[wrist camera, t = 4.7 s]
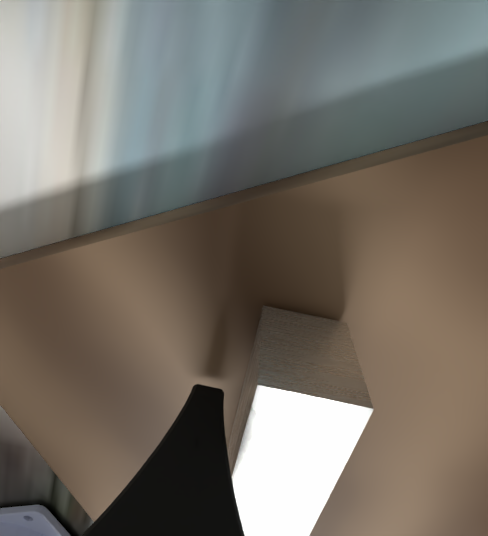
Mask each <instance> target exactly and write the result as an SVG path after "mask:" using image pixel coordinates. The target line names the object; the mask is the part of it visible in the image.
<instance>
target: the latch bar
mask: <svg viewBox="0 0 488 536" xmlns="http://www.w3.org/2000/svg"><path fill="white" fill-rule="evenodd" d="M373 410H374V408H373V405H372V402H371V398H370V395H369V392H368V389H367V386H366V382H365V379H364V376H363V373H362V370H361V367H360V363H359V360H358V357H357V354H356V351H355V347H354V344H353V341H352V338H351V335H350V332H349V328H348V325H347V323H345V322H340V321H336V320H331V319H326V318H321V317H316V316H311V315H307V314H302V313H297V312H292V311H287V310H283V309H278V308H273V307H268V306H263V308H262V312H261V316H260V320H259V324H258V328H257V332H256V336H255V340H254V344H253V348H252V352H251V356H250V360H249V364H248V368H247V372H246V376H245V380H244V384H243V388H242V392H241V396H240V400H239V404H238V408H237V412H236V416H235V419H234V423H233V427H232V431H231V435H230V439H229V443H228V447H227V452H228V459H229V466H230V472H231V478H232V483H233V488H234V493H235V498H236V502H237V507H238V511H239V515H240V519H241V523H242V527H243V531H244V535H245V536H309V535H310V533H311V531H312V529H313V527H314V525H315V523H316V521H317V520H318V518H319V516H320V514H321V512H322V510H323V508H324V506H325V504H326V502H327V500H328V498H329V496H330V494H331V492H332V490H333V488H334V486H335V484H336V482H337V480H338V478H339V476H340V474H341V473H342V471H343V469H344V467H345V465H346V463H347V461H348V459H349V457H350V455H351V453H352V451H353V449H354V447H355V445H356V443H357V441H358V439H359V437H360V435H361V433H362V431H363V429H364V427H365V426H366V424H367V422H368V420H369V418H370V416H371V414H372V412H373Z"/></svg>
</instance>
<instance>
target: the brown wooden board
mask: <svg viewBox="0 0 488 536" xmlns="http://www.w3.org/2000/svg"><path fill="white" fill-rule="evenodd" d="M263 306H268V307H273V308H278V309H283V310H287V311H292V312H297V313H302V314H307V315H311V316H316V317H321V318H326V319H331V320H336V321H340V322H345V323H347V325H348V328H349V332H350V335H351V338H352V341H353V344H354V347H355V351H356V354H357V357H358V360H359V363H360V367H361V370H362V373H363V376H364V379H365V382H366V386H367V389H368V392H369V395H370V398H371V402H372V405H373V408H374V410H373V412H372V414H371V416H370V418H369V420H368V422H367V424H366V426H365V427H364V429H363V431H362V433H361V435H360V437H359V439H358V441H357V443H356V445H355V447H354V449H353V451H352V453H351V455H350V457H349V459H348V461H347V463H346V465H345V467H344V469H343V471H342V473H341V474H340V476H339V478H338V480H337V482H336V484H335V486H334V488H333V490H332V492H331V494H330V496H329V498H328V500H327V502H326V504H325V506H324V508H323V510H322V512H321V514H320V516H319V518H318V520H317V521H316V523H315V525H314V527H313V529H312V531H311V533H310V535H309V536H488V121H486V122H483V123H479V124H476V125H472V126H468V127H465V128H461V129H458V130H454V131H451V132H447V133H444V134H440V135H437V136H433V137H430V138H426V139H422V140H419V141H415V142H412V143H408V144H405V145H401V146H398V147H394V148H391V149H387V150H383V151H380V152H376V153H373V154H369V155H366V156H362V157H359V158H355V159H352V160H348V161H344V162H341V163H337V164H334V165H330V166H327V167H323V168H320V169H316V170H313V171H309V172H306V173H302V174H298V175H295V176H291V177H288V178H284V179H281V180H277V181H274V182H270V183H267V184H263V185H259V186H256V187H252V188H249V189H245V190H242V191H238V192H235V193H231V194H228V195H224V196H221V197H217V198H213V199H210V200H206V201H203V202H199V203H196V204H192V205H189V206H185V207H182V208H178V209H174V210H171V211H167V212H164V213H160V214H157V215H153V216H150V217H146V218H143V219H139V220H136V221H132V222H128V223H125V224H121V225H118V226H114V227H111V228H107V229H104V230H100V231H97V232H93V233H89V234H86V235H82V236H79V237H75V238H72V239H68V240H65V241H61V242H58V243H54V244H50V245H47V246H43V247H40V248H36V249H33V250H29V251H26V252H22V253H19V254H15V255H12V256H8V257H4V258H1V259H0V405H1V407H2V408H3V409H4V410H5V412H6V413H7V414H8V415H9V417H10V418H11V419H12V420H13V422H14V423H15V424H16V425H17V426H18V428H19V429H20V430H21V431H22V433H23V434H24V435H25V436H26V438H27V439H28V440H29V441H30V443H31V444H32V445H33V446H34V448H35V449H36V450H37V451H38V453H39V454H40V455H41V456H42V458H43V459H44V460H45V461H46V463H47V464H48V465H49V466H50V468H51V469H52V470H53V471H54V473H55V474H56V475H57V476H58V478H59V479H60V480H61V481H62V482H63V484H64V485H65V486H66V487H67V489H68V490H69V491H70V492H71V494H72V495H73V496H74V497H75V499H76V500H77V501H78V502H79V504H80V505H81V506H82V507H83V509H84V510H85V511H86V512H87V514H88V515H89V516H90V517H91V519H92V520H93V521H94V522H95V521H96V520H97V519H98V518H99V516H100V515H101V514H102V513H103V512H104V511H105V510H106V509H107V508H108V507H109V505H110V504H111V503H112V502H113V501H114V500H115V499H116V497H117V496H118V495H119V494H120V493H121V492H122V490H123V489H124V488H125V487H126V486H127V485H128V483H129V482H130V481H131V480H132V478H133V477H134V476H135V475H136V474H137V472H138V471H139V470H140V468H141V467H142V466H143V464H144V463H145V462H146V461H147V459H148V458H149V457H150V455H151V454H152V453H153V451H154V450H155V449H156V447H157V446H158V445H159V443H160V442H161V440H162V439H163V437H164V436H165V434H166V433H167V431H168V430H169V429H170V427H171V426H172V424H173V423H174V421H175V419H176V418H177V416H178V415H179V413H180V411H181V410H182V408H183V406H184V404H185V403H186V401H187V399H188V397H189V395H190V393H191V390H192V388H193V386H194V385H196V384H201V385H205V386H210V387H214V388H219V389H222V390H223V392H224V427H225V437H226V446H227V447H228V443H229V439H230V435H231V431H232V427H233V423H234V419H235V416H236V412H237V408H238V404H239V400H240V396H241V392H242V388H243V384H244V380H245V376H246V372H247V368H248V364H249V360H250V356H251V352H252V348H253V344H254V340H255V336H256V332H257V328H258V324H259V320H260V316H261V312H262V308H263Z"/></svg>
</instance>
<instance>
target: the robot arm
mask: <svg viewBox="0 0 488 536" xmlns="http://www.w3.org/2000/svg"><path fill="white" fill-rule="evenodd" d="M0 536H71V535H70V534H69V533H68V532H67V531H66V529H65V528H64V527H63V526H62V525H61V524H60V523H59V521H58V520H57V519H56V518H55V517H54V516H53V515H52V513H51V512H50V511H49V510H48V509H47V508H46V507H44V506H42V505H27V506H17V507H7V508H0ZM82 536H245V535H244V531H243V527H242V523H241V519H240V515H239V511H238V507H237V502H236V498H235V493H234V488H233V483H232V478H231V472H230V466H229V459H228V452H227V446H226V437H225V427H224V392H223V390H222V389H219V388H214V387H210V386H205V385H201V384H196V385H194V386H193V388H192V390H191V393H190V395H189V397H188V399H187V401H186V403H185V404H184V406H183V408H182V410H181V411H180V413H179V415H178V416H177V418H176V419H175V421H174V423H173V424H172V426H171V427H170V429H169V430H168V431H167V433H166V434H165V436H164V437H163V439H162V440H161V442H160V443H159V445H158V446H157V447H156V449H155V450H154V451H153V453H152V454H151V455H150V457H149V458H148V459H147V461H146V462H145V463H144V464H143V466H142V467H141V468H140V470H139V471H138V472H137V474H136V475H135V476H134V477H133V478H132V480H131V481H130V482H129V483H128V485H127V486H126V487H125V488H124V489H123V490H122V492H121V493H120V494H119V495H118V496H117V497H116V499H115V500H114V501H113V502H112V503H111V504H110V505H109V507H108V508H107V509H106V510H105V511H104V512H103V513H102V514H101V515H100V516H99V518H98V519H97V520H96V521H95V522H94V523H93V524H92V525H91V526H90V527H89V528H88V529H87V530H86V532H85V533H84V534H83V535H82Z"/></svg>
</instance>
